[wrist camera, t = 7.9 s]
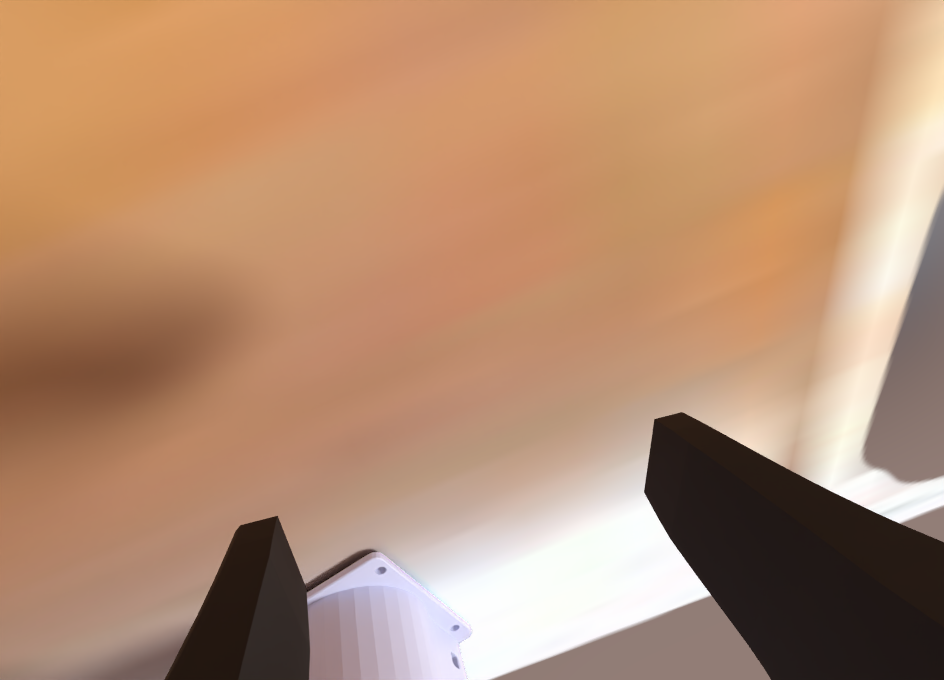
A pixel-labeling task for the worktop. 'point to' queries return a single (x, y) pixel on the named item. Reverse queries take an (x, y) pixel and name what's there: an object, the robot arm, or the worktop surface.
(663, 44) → the worktop surface
